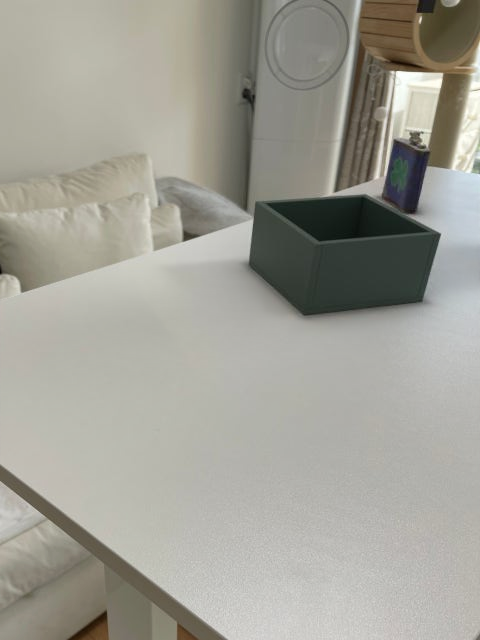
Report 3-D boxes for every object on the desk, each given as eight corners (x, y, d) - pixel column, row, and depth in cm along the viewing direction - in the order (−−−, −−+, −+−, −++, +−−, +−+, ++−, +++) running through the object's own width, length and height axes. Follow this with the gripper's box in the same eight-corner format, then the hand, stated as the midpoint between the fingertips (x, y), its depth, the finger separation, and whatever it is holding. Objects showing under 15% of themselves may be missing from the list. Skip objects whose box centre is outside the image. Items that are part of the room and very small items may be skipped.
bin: (353, 254, 83) (365, 193, 79) (422, 301, 72) (441, 233, 67) (248, 264, 79) (255, 201, 75) (303, 315, 68) (315, 244, 64)
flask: (378, 196, 105) (394, 124, 99) (395, 195, 105) (412, 124, 99) (404, 214, 98) (422, 137, 91) (422, 213, 98) (442, 137, 92)
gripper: (414, -177, 87) (379, 10, 99) (586, -212, 69) (518, 22, 81) (453, -171, 90) (415, 10, 102) (629, -203, 72) (557, 22, 84)
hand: (460, 16), depth 92 cm, fingers open, 13 cm apart
